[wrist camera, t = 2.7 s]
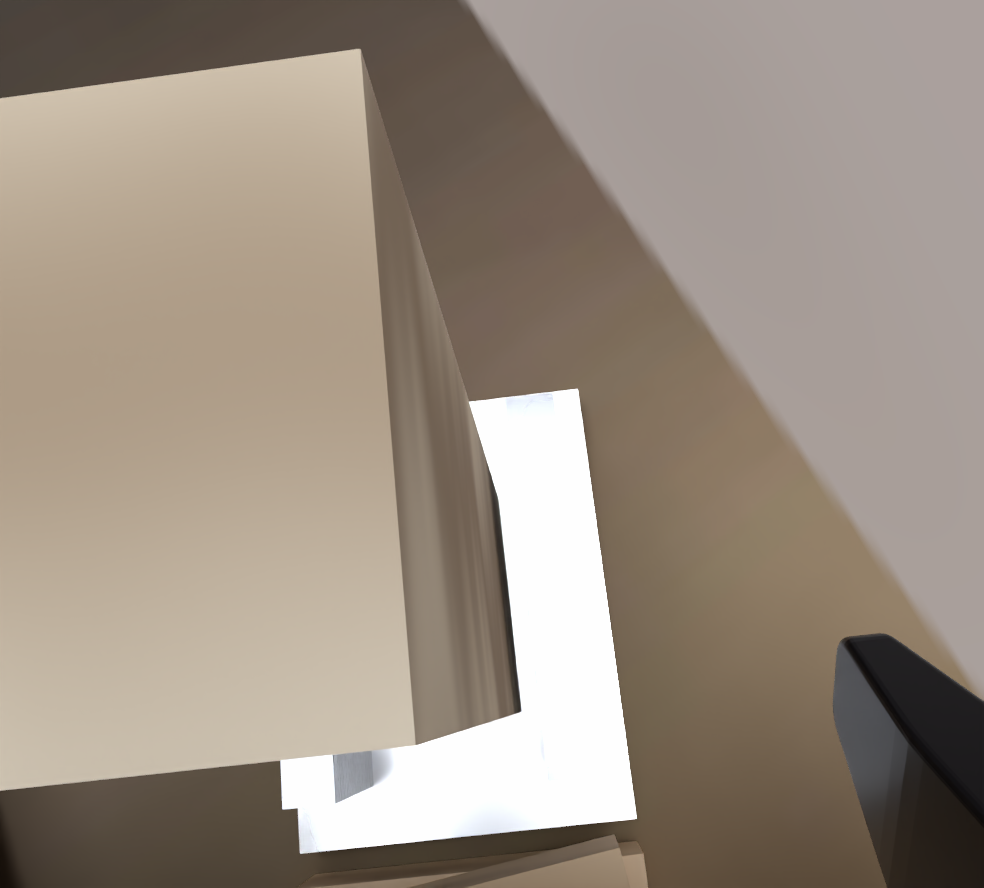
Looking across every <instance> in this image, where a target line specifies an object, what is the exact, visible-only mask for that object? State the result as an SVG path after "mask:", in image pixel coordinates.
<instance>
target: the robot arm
mask: <svg viewBox="0 0 984 888" xmlns="http://www.w3.org/2000/svg"><path fill="white" fill-rule="evenodd" d="M833 714H834V720H835V725H836V729H837V732H838V735H839V738H840V742H841V745H842V748H843V751H844V754H845V757H846V760H847V764H848V767H849V770H850V773H851V776H852V779H853V783H854V786H855V789H856V792H857V795H858V798H859V801H860V805H861V808H862V811H863V814H864V817H865V820H866V824H867V827H868V830H869V833H870V836H871V839H872V842H873V846H874V849H875V852H876V855H877V858H878V861H879V864H880V867H881V870H882V873H883V876H884V879H885V882H886V885H887V888H984V701H983V700H981V699H980V698H978V697H977V696H975V695H974V694H973V693H971V692H970V691H968V690H967V689H966V688H964V687H963V686H961V685H960V684H958V683H957V682H956V681H954V680H953V679H951V678H950V677H949V676H947V675H946V674H944V673H943V672H942V671H940V670H939V669H937V668H936V667H934V666H933V665H932V664H930V663H929V662H927V661H926V660H925V659H923V658H922V657H920V656H919V655H917V654H916V653H915V652H913V651H912V650H910V649H909V648H908V647H906V646H905V645H903V644H902V643H901V642H899V641H898V640H896V639H895V638H893V637H892V636H889V635H887V634H882V633H878V634H869V635H860V636H850V637H846V638H844V639H842V640H841V641H840V643H839V645H838V648H837V655H836V668H835V681H834V693H833Z"/></svg>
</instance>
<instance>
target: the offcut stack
mask: <svg viewBox="0 0 984 888" xmlns="http://www.w3.org/2000/svg"><path fill="white" fill-rule="evenodd" d="M297 888H648V882H647V875H646V868H645V861H644V854H643V852H642V850H641V848H640V846H639V844H638V843H637V841H631V842H622V843H618V842H617V840H616V837H615V835H614V834H613V835H609V836H605V837H601V838H598V839H594V840H590V841H586V842H582V843H578V844H574V845H571V846H567V847H563V848H559V849H554V850H544V851H534V852H524V853H515V854H505V855H495V856H486V857H476V858H466V859H456V860H447V861H437V862H427V863H418V864H408V865H398V866H388V867H379V868H369V869H359V870H349V871H340V872H330V873H320V874H315V875H314V876H312V877H311V878H309V879H308V880H307V881H305V882H304V883H302V884H301V885H300V886H298V887H297Z"/></svg>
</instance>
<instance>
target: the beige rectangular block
mask: <svg viewBox="0 0 984 888" xmlns="http://www.w3.org/2000/svg"><path fill="white" fill-rule="evenodd" d="M520 712H522V708H521V699H520V690H519V681H518V672H517V663H516V653H515V644H514V635H513V626H512V617H511V608H510V599H509V589H508V580H507V571H506V562H505V553H504V544H503V535H502V525H501V516H500V507H499V498H498V495H497V491H496V488H495V485H494V482H493V478H492V475H491V472H490V469H489V465H488V462H487V459H486V455H485V452H484V449H483V446H482V442H481V439H480V436H479V433H478V429H477V426H476V423H475V420H474V416H473V413H472V410H471V407H470V403H469V400H468V397H467V394H466V390H465V387H464V384H463V381H462V377H461V374H460V371H459V368H458V364H457V361H456V358H455V355H454V351H453V348H452V345H451V342H450V338H449V335H448V332H447V329H446V325H445V322H444V319H443V316H442V312H441V309H440V306H439V303H438V299H437V296H436V293H435V290H434V286H433V283H432V280H431V277H430V273H429V270H428V267H427V264H426V260H425V257H424V254H423V251H422V247H421V244H420V241H419V238H418V234H417V231H416V228H415V225H414V221H413V218H412V215H411V212H410V208H409V205H408V202H407V199H406V195H405V192H404V189H403V186H402V182H401V179H400V176H399V173H398V169H397V166H396V163H395V160H394V156H393V153H392V150H391V147H390V143H389V140H388V137H387V134H386V130H385V127H384V124H383V121H382V117H381V114H380V111H379V107H378V104H377V101H376V98H375V94H374V91H373V88H372V85H371V81H370V78H369V75H368V72H367V68H366V65H365V62H364V59H363V55H362V52H361V49H355V50H348V51H341V52H334V53H326V54H319V55H312V56H305V57H297V58H290V59H283V60H276V61H268V62H261V63H254V64H247V65H239V66H232V67H225V68H218V69H210V70H203V71H196V72H189V73H181V74H174V75H167V76H160V77H153V78H145V79H138V80H131V81H124V82H116V83H109V84H102V85H95V86H87V87H80V88H73V89H66V90H58V91H51V92H44V93H37V94H29V95H22V96H15V97H8V98H1V99H0V791H2V790H11V789H20V788H30V787H39V786H48V785H57V784H67V783H76V782H85V781H95V780H104V779H113V778H122V777H132V776H141V775H150V774H159V773H169V772H178V771H187V770H196V769H206V768H215V767H224V766H234V765H243V764H252V763H261V762H271V761H280V760H289V759H298V758H308V757H317V756H326V755H336V754H345V753H354V752H363V751H373V750H382V749H391V748H400V747H410V746H417V745H420V744H423V743H426V742H429V741H432V740H436V739H439V738H442V737H445V736H448V735H451V734H454V733H457V732H461V731H464V730H467V729H470V728H473V727H476V726H479V725H482V724H486V723H489V722H492V721H495V720H498V719H501V718H504V717H507V716H510V715H514V714H517V713H520Z"/></svg>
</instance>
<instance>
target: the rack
mask: <svg viewBox="0 0 984 888" xmlns="http://www.w3.org/2000/svg"><path fill="white" fill-rule="evenodd" d="M469 403H470V407H471V410H472V413H473V416H474V420H475V423H476V426H477V429H478V433H479V436H480V439H481V442H482V446H483V449H484V452H485V455H486V459H487V462H488V465H489V469H490V472H491V475H492V478H493V482H494V485H495V488H496V491H497V495H498V498H499V507H500V516H501V525H502V535H503V544H504V553H505V562H506V571H507V580H508V589H509V599H510V608H511V617H512V626H513V635H514V644H515V653H516V663H517V672H518V681H519V690H520V699H521V708H522V712H520V713H517V714H514V715H510V716H507V717H504V718H501V719H498V720H495V721H492V722H489V723H486V724H482V725H479V726H476V727H473V728H470V729H467V730H464V731H461V732H457V733H454V734H451V735H448V736H445V737H442V738H439V739H436V740H432V741H429V742H426V743H423V744H420V745H417V746H410V747H400V748H391V749H382V750H373V751H363V752H354V753H345V754H336V755H326V756H317V757H308V758H298V759H289V760H280V761H281V785H282V809H292V808H298V823H299V844H300V854H302V853H312V852H322V851H331V850H341V849H350V848H360V847H370V846H379V845H389V844H399V843H408V842H418V841H428V840H437V839H447V838H456V837H466V836H476V835H485V834H495V833H505V832H514V831H524V830H534V829H543V828H553V827H562V826H572V825H582V824H591V823H601V822H611V821H620V820H630V819H637V816H636V809H635V802H634V794H633V787H632V780H631V773H630V765H629V758H628V751H627V743H626V736H625V729H624V721H623V714H622V707H621V700H620V692H619V685H618V678H617V670H616V663H615V656H614V649H613V641H612V634H611V627H610V619H609V612H608V605H607V597H606V590H605V583H604V576H603V568H602V561H601V554H600V546H599V539H598V532H597V524H596V517H595V510H594V503H593V495H592V488H591V481H590V473H589V466H588V459H587V452H586V444H585V437H584V430H583V422H582V415H581V408H580V400H579V393H578V389H572V390H564V391H555V392H547V393H539V394H531V395H523V396H514V397H506V398H498V399H490V400H482V401H474V402H469Z"/></svg>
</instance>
